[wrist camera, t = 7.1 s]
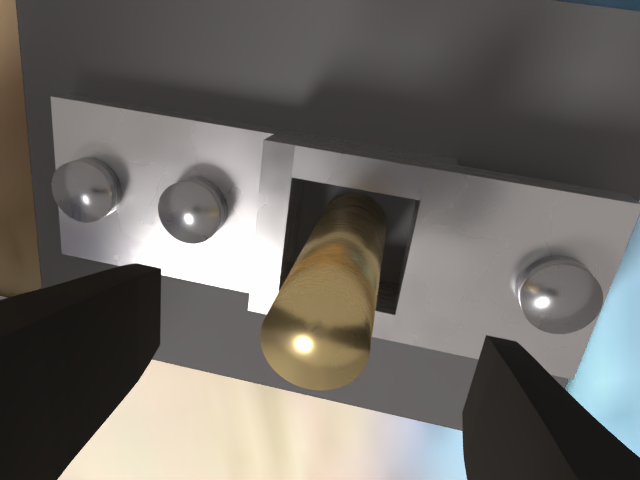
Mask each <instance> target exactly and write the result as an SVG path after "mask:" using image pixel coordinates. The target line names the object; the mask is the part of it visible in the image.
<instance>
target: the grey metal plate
mask: <svg viewBox="0 0 640 480" xmlns="http://www.w3.org/2000/svg"><path fill="white" fill-rule="evenodd" d="M50 97H51V111H52V125H53V139H54V153H55V167H56V171H55V173H54V175H53V178H52V193H53V196H54V199H55V201H56V203H57V204H58V208H59V222H60V236H61V250H62V254H65V255H69V256H74V257H79V258H84V259H89V260H93V261H98V262H103V263H108V264H113V265H117V266H123V265H128V264H134V263H138V264H143V265H148V266H153V267H157V268H161V275H165V276H170V277H175V278H180V279H185V280H189V281H194V282H199V283H204V284H208V285H213V286H218V287H223V288H228V289H232V290H237V291H242V292H247V293H250V295H249V306H248V310H249V311H253V312H258V313H263V314H267V313H268V311H269V309H270V307H271V305H272V304H273V302H274V300H275V298H276V296H277V295H278V293H279V291H280V289H281V287H282V286H283V284H284V282H285V280H286V278H287V276H288V275H289V273H290V271H291V269H292V267H293V266H294V264H295V263H294V262H295V254H296V246H297V238H298V230H299V222H300V214H301V206H302V198H303V190H304V182H305V180H309V181H314V182H320V183H325V184H331V185H337V186H342V187H348V188H353V189H359V190H365V191H370V192H376V193H382V194H387V195H393V196H398V197H404V198H410V199H415V205H414V210H413V214H412V219H411V224H410V228H409V233H408V237H407V242H406V247H405V251H404V256H403V260H402V265H401V270H400V274H399V279H398V283H397V284H396V283H391V282H386V281H381V280H379V288H378V295H377V302H376V310H375V317H374V325H373V332H372V337H376V338H380V339H385V340H390V341H394V342H399V343H404V344H408V345H413V346H418V347H422V348H427V349H432V350H437V351H441V352H446V353H451V354H455V355H460V356H465V357H469V358H474V359H479V356H480V353H481V350H482V347H483V343H484V340H485V337H486V335H488V336H493V337H498V338H503V339H508V340H512V341H516V342H518V343H519V344H520V345H521V346H522V347H523V348H524V349H525V350H526V351H528V352H529V353H530V354H531V355H532V356H533V357H534V358H535V359H536V360H537V361H538V362H539V363H540V365H541V366H542V367H543V368H544V369H545V370H546V371H547V372H548V373H549V374H550V375H554V376H559V377H563V378H568V379H574V376H575V374H576V371H577V369H578V366H579V364H580V361H581V359H582V356H583V354H584V351H585V349H586V346H587V344H588V341H589V339H590V336H591V334H592V331H593V329H594V326H595V324H596V321H597V319H598V316H599V314H600V311H601V309H602V306H603V304H604V301H605V299H606V296H607V294H608V291H609V289H610V286H611V284H612V282H613V279H614V277H615V274H616V272H617V269H618V267H619V264H620V262H621V259H622V257H623V254H624V252H625V249H626V247H627V244H628V242H629V239H630V237H631V234H632V232H633V229H634V227H635V224H636V222H637V219H638V217H639V214H640V202H638V201H637V200H635V199H634V198H632V197H631V196H629V195H628V194H626V193H620V192H614V191H608V190H602V189H596V188H590V187H584V186H578V185H572V184H566V183H561V182H555V181H549V180H543V179H537V178H531V177H525V176H519V175H513V174H507V173H501V172H495V171H489V170H483V169H478V168H472V167H466V166H460V165H458V162H457V160H456V158H454V157H448V156H442V155H436V154H430V153H424V152H418V151H412V150H406V149H400V148H394V147H388V146H382V145H376V144H370V143H364V142H358V141H352V140H346V139H340V138H334V137H328V136H322V135H316V134H310V133H304V132H298V131H292V130H286V129H280V128H274V127H268V126H262V125H256V124H250V123H244V122H238V121H232V120H226V119H220V118H214V117H208V116H202V115H196V114H190V113H184V112H178V111H172V110H166V109H160V108H154V107H148V106H142V105H136V104H131V103H125V102H119V101H113V100H107V99H101V98H95V97H89V96H83V95H77V94H67V95H58V96H50Z"/></svg>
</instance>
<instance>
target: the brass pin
mask: <svg viewBox="0 0 640 480" xmlns="http://www.w3.org/2000/svg"><path fill="white" fill-rule="evenodd" d="M386 228H387V221H386V217H385V214H384V211H383V209H382V208H381V206H380V205H379V204H378V203H377V202H376V201H375V200H373V199H372V198H371V197H369V196H367V195H364V194H360V193H345V194H342V195H340V196H337V197H336V198H334V199H333V200H332V201H330V202H329V204H328V205H327V206H326V208H325V209H324V211H323V213H322V215H321V217H320V218H319V220H318V222H317V224H316V226H315V228H314V229H313V231H312V233H311V235H310V237H309V238H308V240H307V242H306V244H305V246H304V247H303V249H302V251H301V253H300V255H299V257H298V258H297V260H296V262H295V264H294V266H293V267H292V269H291V271H290V273H289V275H288V276H287V278H286V280H285V282H284V284H283V286H282V287H281V289H280V291H279V293H278V295H277V296H276V298H275V300H274V302H273V304H272V305H271V307H270V309H269V311H268V313H267V315H266V316H265V318H264V320H263V323H262V326H261V331H260V343H261V348H262V351H263V354H264V356H265V358H266V360H267V362H268V363H269V364H270V366H271V367H272V368H273V369H274V371H275V372H276V373H277V374H279V375H280V376H281V377H282V378H284V379H285V380H287V381H288V382H290V383H292V384H294V385H297V386H299V387H302V388H306V389H310V390H320V391H321V390H332V389H336V388H340V387H342V386H345V385H347V384H349V383H350V382H352V381H353V380H354V379H356V378H357V377H358V376H359V375H360V374H361V373H362V371H363V370H364V368H365V366H366V364H367V362H368V359H369V354H370V347H371V340H372V332H373V325H374V317H375V310H376V302H377V295H378V288H379V280H380V273H381V265H382V258H383V250H384V243H385V236H386Z"/></svg>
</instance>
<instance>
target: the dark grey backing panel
mask: <svg viewBox="0 0 640 480" xmlns="http://www.w3.org/2000/svg"><path fill="white" fill-rule="evenodd" d="M16 8H17V19H18V30H19V41H20V52H21V63H22V74H23V85H24V96H25V107H26V118H27V129H28V140H29V151H30V162H31V173H32V184H33V195H34V206H35V217H36V228H37V239H38V250H39V261H40V272H41V283H42V289H43V288H47V287H50V286H53V285H57V284H60V283H64V282H67V281H70V280H74V279H77V278H80V277H84V276H87V275H90V274H94V273H97V272H101V271H104V270H108V269H111V268H115V267H119V266H117V265H113V264H108V263H103V262H98V261H93V260H89V259H84V258H79V257H74V256H69V255H65V254H62V250H61V236H60V222H59V208H58V204H57V203H56V201H55V199H54V196H53V193H52V178H53V175H54V173H55V171H56V167H55V153H54V139H53V125H52V111H51V97H50V96H58V95H67V94H77V95H83V96H89V97H95V98H101V99H107V100H113V101H119V102H125V103H131V104H136V105H142V106H148V107H154V108H160V109H166V110H172V111H178V112H184V113H190V114H196V115H202V116H208V117H214V118H220V119H226V120H232V121H238V122H244V123H250V124H256V125H262V126H268V127H274V128H280V129H286V130H292V131H298V132H304V133H310V134H316V135H322V136H328V137H334V138H340V139H346V140H352V141H358V142H364V143H370V144H376V145H382V146H388V147H394V148H400V149H406V150H412V151H418V152H424V153H430V154H436V155H442V156H448V157H454V158H456V160H457V162H458V165H460V166H466V167H472V168H478V169H483V170H489V171H495V172H501V173H507V174H513V175H519V176H525V177H531V178H537V179H543V180H549V181H555V182H561V183H566V184H572V185H578V186H584V187H590V188H596V189H602V190H608V191H614V192H620V193H626V194H628V195H629V196H631V197H632V198H634V199H635V200H637V201H638V202H639V200H640V11H634V10H626V9H618V8H610V7H602V6H595V5H587V4H579V3H571V2H563V1H555V0H16ZM345 193H360V194H364V195H367V196H369V197H371V198H372V199H373V200H375V201H376V202H377V203H378V204H379V205H380V206H381V208H382V209H383V211H384V214H385V217H386V221H387V228H386V236H385V243H384V250H383V258H382V265H381V273H380V280H381V281H386V282H391V283H396V284H397V283H398V279H399V274H400V270H401V265H402V260H403V256H404V251H405V247H406V242H407V237H408V233H409V228H410V224H411V219H412V214H413V210H414V205H415V199H410V198H404V197H398V196H393V195H387V194H382V193H376V192H370V191H365V190H359V189H353V188H348V187H342V186H337V185H331V184H325V183H320V182H314V181H309V180H305V182H304V190H303V198H302V206H301V214H300V222H299V230H298V238H297V246H296V254H295V262H296V260H297V258H298V257H299V255H300V253H301V251H302V249H303V247H304V246H305V244H306V242H307V240H308V238H309V237H310V235H311V233H312V231H313V229H314V228H315V226H316V224H317V222H318V220H319V218H320V217H321V215H322V213H323V211H324V209H325V208H326V206H327V205H328V204H329V202H330V201H332V200H333V199H334V198H336V197H337V196H340V195H342V194H345ZM295 262H294V263H295ZM249 295H250V293H247V292H242V291H237V290H232V289H228V288H223V287H218V286H213V285H208V284H204V283H199V282H194V281H189V280H185V279H180V278H175V277H170V276H165V275H161V323H160V346H159V348H158V350H157V351H156V353H155V355H154V356H153V358H152V359H153V360H157V361H162V362H166V363H170V364H175V365H179V366H183V367H188V368H192V369H196V370H201V371H205V372H209V373H214V374H218V375H222V376H227V377H231V378H235V379H240V380H244V381H248V382H253V383H257V384H262V385H266V386H270V387H275V388H279V389H283V390H288V391H292V392H296V393H301V394H305V395H309V396H314V397H318V398H322V399H327V400H331V401H335V402H340V403H344V404H348V405H353V406H357V407H361V408H366V409H370V410H374V411H379V412H383V413H387V414H392V415H396V416H400V417H405V418H409V419H414V420H418V421H422V422H427V423H431V424H435V425H440V426H444V427H448V428H453V429H457V430H461V431H463V424H462V412H463V409H464V405H465V402H466V399H467V396H468V392H469V389H470V386H471V383H472V379H473V376H474V373H475V370H476V366H477V363H478V360H479V359H474V358H469V357H465V356H460V355H455V354H451V353H446V352H441V351H437V350H432V349H427V348H422V347H418V346H413V345H408V344H404V343H399V342H394V341H390V340H385V339H380V338H376V337H372V340H371V347H370V354H369V359H368V362H367V364H366V366H365V368H364V370H363V371H362V373H361V374H360V375H359V376H358V377H357V378H356V379H354V380H353V381H352V382H350V383H349V384H347V385H345V386H342V387H340V388H336V389H332V390H321V391H320V390H310V389H306V388H302V387H299V386H297V385H294V384H292V383H290V382H288V381H287V380H285V379H284V378H282V377H281V376H280V375H279V374H277V373H276V372H275V371H274V369H273V368H272V367H271V366H270V364H269V363H268V362H267V360H266V358H265V356H264V354H263V351H262V348H261V343H260V331H261V326H262V323H263V320H264V318H265V316H266V315H267V314H263V313H258V312H253V311H249V310H248V306H249ZM551 376H552V377H553V378H554V379H555V380H556V381H557V382H558V383H559V384H560V385H561V386H562V387H563V388H564V389H565V386H566V384H567V381H568V378H563V377H559V376H554V375H551Z"/></svg>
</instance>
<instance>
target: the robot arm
mask: <svg viewBox="0 0 640 480" xmlns="http://www.w3.org/2000/svg"><path fill="white" fill-rule="evenodd" d="M160 323H161V268H157V267H153V266H148V265H143V264H138V263H134V264H128V265H123V266H119V267H115V268H111V269H108V270H104V271H101V272H97V273H94V274H90V275H87V276H84V277H80V278H77V279H74V280H70V281H67V282H64V283H60V284H57V285H53V286H50V287H47V288H43V289H39V290H36V291H32V292H28V293H24V294H20V295H17V296H13V297H9V298H8V297H4V296H0V480H57V479H58V478H59V477H60V475H61V474H62V473H63V471H64V470H65V469H66V467H67V466H68V465H69V464H70V462H71V461H72V460H73V459H74V457H75V456H76V455H77V454H78V453H79V451H80V450H81V449H82V448H83V447H84V446H85V444H86V443H87V442H88V441H89V440H90V438H91V437H92V436H93V435H94V434H95V432H96V431H97V430H98V429H99V428H100V426H101V425H102V424H103V423H104V422H105V421H106V419H107V418H108V417H109V416H110V415H111V413H112V412H113V411H114V410H115V409H116V407H117V406H118V405H119V404H120V403H121V401H122V400H123V399H124V398H125V396H126V395H127V394H128V393H129V392H130V390H131V389H132V388H133V387H134V385H135V384H136V383H137V382H138V380H139V379H140V377H141V376H142V374H143V373H144V371H145V369H146V368H147V366H148V365H149V363H150V361H151V360H152V358H153V356H154V355H155V353H156V351H157V350H158V348H159V346H160ZM462 424H463V452H464V462H465V469H466V475H467V480H640V458H639V457H638V456H637V455H636V454H635V453H633V452H632V451H631V450H630V449H629V448H627V447H626V446H625V445H624V444H623V443H622V442H621V441H620V440H618V439H617V438H616V437H615V436H614V435H613V434H612V433H611V432H609V431H608V430H607V429H606V428H605V427H604V426H603V425H602V424H601V423H599V422H598V421H597V420H596V419H595V418H594V417H593V416H592V415H591V414H590V413H589V412H588V411H587V410H586V409H584V408H583V407H582V406H581V405H580V404H579V403H578V402H577V401H576V400H575V399H574V398H573V397H572V396H571V395H570V394H569V393H568V392H567V391H566V390H565V389H564V388H563V387H562V386H561V385H560V384H559V383H558V382H557V381H556V380H555V379H554V378H553V377H552V376H551V375H550V374H549V373H548V372H547V371H546V370H545V369H544V368H543V367H542V366H541V365H540V363H539V362H538V361H537V360H536V359H535V358H534V357H533V356H532V355H531V354H530V353H529V352H528V351H526V350H525V349H524V348H523V347H522V346H521V345H520V344H519V343H518V342H516V341H512V340H508V339H503V338H498V337H493V336H488V335H486V337H485V340H484V343H483V347H482V350H481V353H480V356H479V360H478V363H477V366H476V370H475V373H474V376H473V379H472V383H471V386H470V389H469V392H468V396H467V399H466V402H465V405H464V409H463V412H462Z"/></svg>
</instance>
